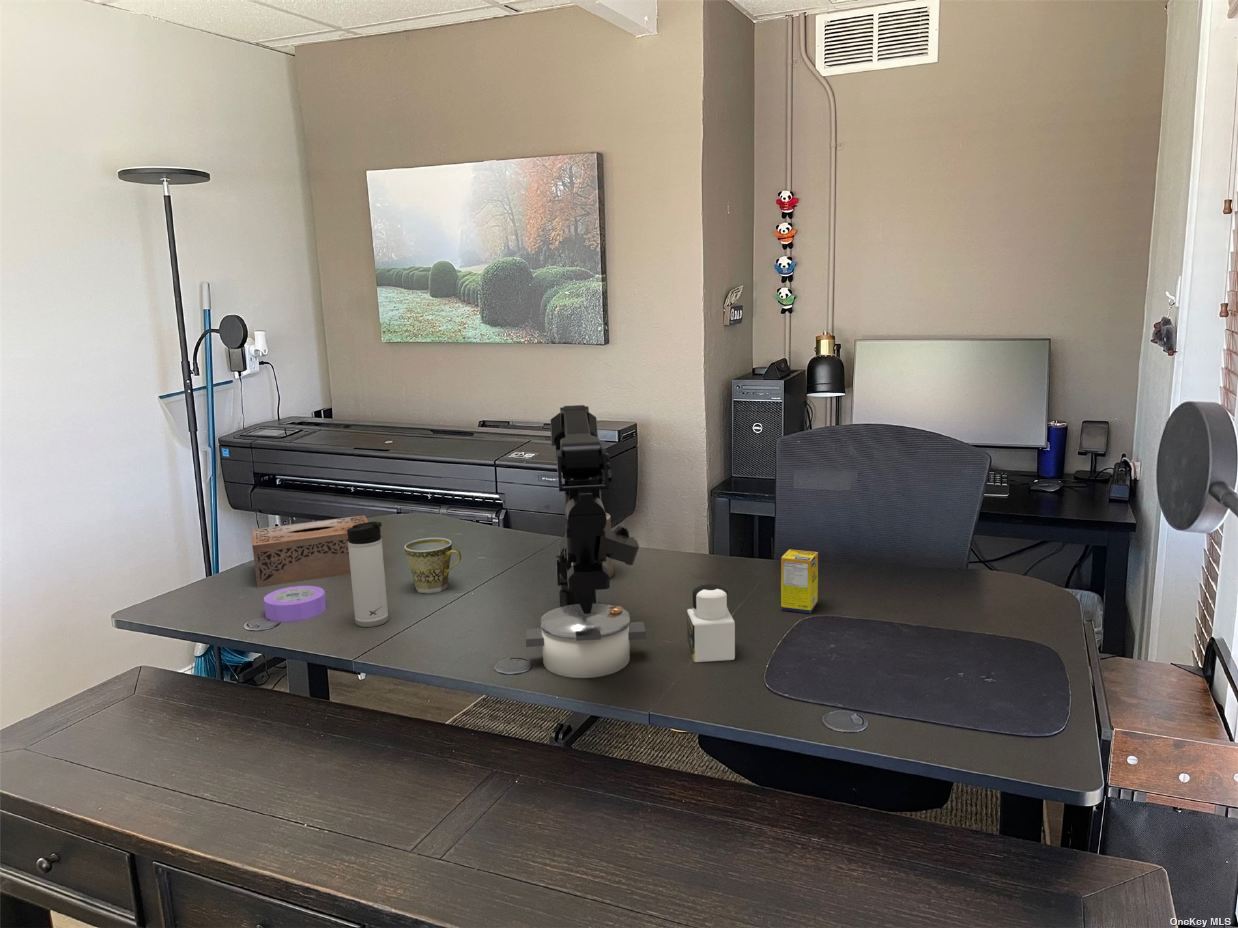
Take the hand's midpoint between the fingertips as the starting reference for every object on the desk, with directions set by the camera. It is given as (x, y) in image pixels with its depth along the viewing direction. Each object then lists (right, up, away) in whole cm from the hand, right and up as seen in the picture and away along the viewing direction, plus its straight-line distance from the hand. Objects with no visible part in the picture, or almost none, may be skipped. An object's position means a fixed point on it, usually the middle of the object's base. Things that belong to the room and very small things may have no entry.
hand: (587, 612), depth 144 cm
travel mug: (-43, -7, +31) cm, 54 cm away
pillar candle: (-1, -1, +54) cm, 54 cm away
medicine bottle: (+21, -9, +11) cm, 26 cm away
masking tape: (-61, -6, +38) cm, 72 cm away
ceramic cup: (-34, -3, +49) cm, 59 cm away
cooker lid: (-1, -3, +8) cm, 9 cm away
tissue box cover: (-66, -1, +65) cm, 92 cm away
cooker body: (0, -10, +10) cm, 14 cm away
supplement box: (+41, -4, +32) cm, 52 cm away
